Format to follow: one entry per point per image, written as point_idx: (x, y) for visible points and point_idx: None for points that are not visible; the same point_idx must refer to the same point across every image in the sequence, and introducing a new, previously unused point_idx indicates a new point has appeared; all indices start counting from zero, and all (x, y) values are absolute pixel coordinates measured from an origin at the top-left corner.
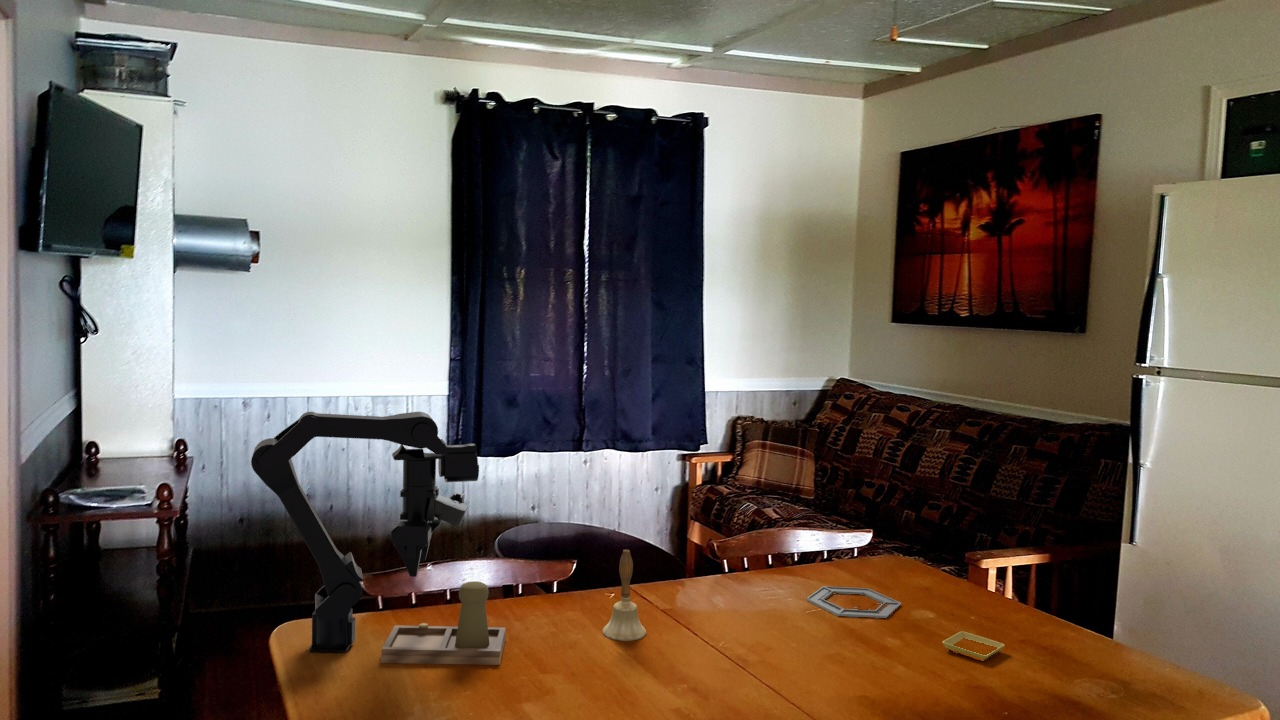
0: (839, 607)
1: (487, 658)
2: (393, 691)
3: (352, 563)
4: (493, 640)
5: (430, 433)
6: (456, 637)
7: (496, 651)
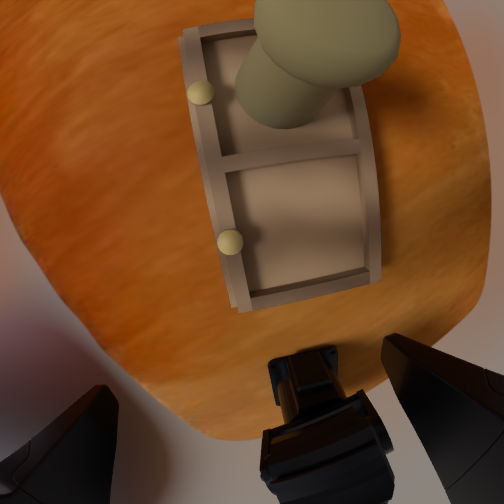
0: None
1: None
2: (460, 203)
3: (392, 492)
4: (243, 45)
5: None
6: (307, 119)
7: None
